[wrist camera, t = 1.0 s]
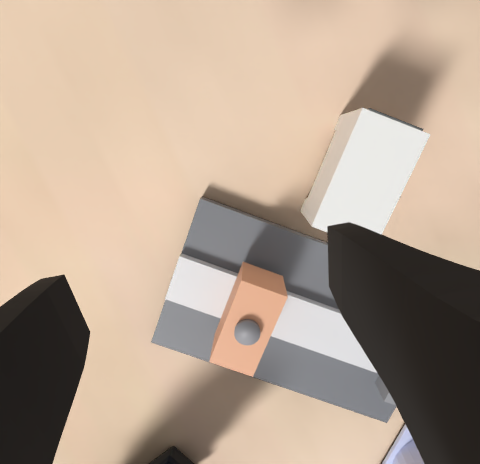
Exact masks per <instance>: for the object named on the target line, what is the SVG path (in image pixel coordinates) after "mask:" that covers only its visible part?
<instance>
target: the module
mask: <svg viewBox="0 0 480 464" xmlns="http://www.w3.org/2000/svg"><path fill="white" fill-rule="evenodd" d="M334 130H336V131H335V134H334V136H333V139H332V141H331V143H330V146H329V148H328V150H327V153H326V155H325V158H324V160H323V162H322V165H321V167H320V170H319V172H318V174H317V177H316V179H315V181H314V184H313V186H312V189H311V191H310V193H309V196H308V198H305V200H304V203H303V205H302V207H301V210H300V211H301V213H302V214H303V215H304V217H305V218H306V220H307V221H308V222H309V224H310V225H311V227H314V228H317V229H320V230H322V231H325V232H328V231H327V226H331V225H336V224H342V223H347V222H350V223H353V224H356V225H359V226H362V227H364V228H367V229H369V230H372V231H374V232H377V233H379V234H381V235H382V233H383V231H384V229H385V226H386V224H387V222H388V220H389V218H390V216H391V214H392V212H393V210H394V208H395V206H396V204H397V202H398V200H399V198H400V196H401V194H402V192H403V190H404V187H405V185H406V183H407V181H408V179H409V177H410V175H411V173H412V171H413V169H414V167H415V165H416V163H417V161H418V159H419V157H420V155H421V153H422V151H423V149H424V146H425V144H426V142H427V140H428V138H429V136H430V134H428V133H426V132H423V129H422V128H419V127H417V126H414V125H411V124H409V123H406V122H404V121H401V120H399V119H396V118H394V117H391V116H389V115H386V114H383V113H381V112H378V111H376V110H373V109H371V108H368V109H365V108H360V109H357V110H354V111H351V112H348V113H345V114H342V115H340V117H339V119H338V121H337V124H336V126H335V129H334Z"/></svg>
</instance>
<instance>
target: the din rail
mask: <svg viewBox="0 0 480 464" xmlns="http://www.w3.org/2000/svg"><path fill="white" fill-rule="evenodd" d="M243 262H246V263H248V264H251V265H254V266H257V267H259V268H262V269H265V270H268V271H271V272H273V273H276V274H279V275H282V276H283V279H284V283H285V287H286V291H287V296H288V298H287V300H286V302H285V305H284V307H283V309H282V311H281V314H280V316H279V318H278V321H277V323H276V325H275V327H274V330H273V332H272V334H271V337H270V339H269V341H268V343H267V346H266V348H265V350H264V353H263V355H262V357H261V359H260V362H259V364H258V366H257V369H256V371H255V373H254V375H253V377H254V378H257V379H260V380H263V381H266V382H269V383H272V384H275V385H278V386H280V387H283V388H286V389H289V390H292V391H295V392H298V393H301V394H304V395H307V396H310V397H313V398H316V399H319V400H321V401H324V402H327V403H330V404H333V405H336V406H339V407H342V408H345V409H348V410H351V411H354V412H357V413H360V414H362V415H365V416H368V417H371V418H374V419H377V420H380V421H383V422H386V423H387V422H388V420H389V418H390V417H391V415H392V413H393V411H394V410H395V408H396V404H395V402H394V400H393V398H392V397H391V395H390V393H389V391H388V390H387V388H386V386H385V384H384V383H383V381H382V379H381V378H380V376H379V375H378V373H377V371H376V370H375V368H374V367H373V365H372V363H371V362H370V360H369V359H368V357H367V355H366V354H365V352H364V351H363V349H362V348H361V346H360V344H359V343H358V341H357V340H356V338H355V336H354V335H353V333H352V331H351V330H350V328H349V327H348V325H347V323H346V322H345V320H344V318H343V317H342V315H341V313H340V310H339V308H338V306H337V304H336V302H335V299H334V297H333V295H332V292H331V290H330V288H329V275H328V243H327V242H324V241H322V240H319V239H316V238H314V237H311V236H308V235H305V234H303V233H300V232H297V231H295V230H292V229H289V228H286V227H284V226H281V225H278V224H276V223H273V222H270V221H267V220H265V219H262V218H259V217H257V216H254V215H251V214H248V213H246V212H243V211H240V210H238V209H235V208H232V207H229V206H227V205H224V204H221V203H218V202H216V201H213V200H210V199H208V198H205V197H201V198H200V200H199V203H198V206H197V209H196V212H195V215H194V218H193V221H192V224H191V227H190V230H189V233H188V236H187V239H186V241H185V244H184V247H183V250H182V253H181V255H180V256H179V259H178V262H177V265H176V268H175V271H174V274H173V277H172V280H171V283H170V286H169V289H168V292H167V295H166V298H165V299H166V300H165V303H164V306H163V309H162V312H161V315H160V318H159V321H158V324H157V327H156V330H155V332H154V335H153V338H152V341H151V342H152V343H155V344H158V345H160V346H163V347H166V348H169V349H172V350H175V351H178V352H181V353H184V354H187V355H190V356H193V357H196V358H199V359H201V360H204V361H207V362H209V361H210V356H211V351H212V345H213V340H214V335H215V332H216V329H217V327H218V324H219V322H220V319H221V316H222V314H223V311H224V309H225V306H226V304H227V301H228V299H229V296H230V293H231V291H232V288H233V286H234V283H235V281H236V278H237V275H238V273H239V270H240V268H241V265H242V263H243ZM210 363H211V362H210ZM213 364H214V363H213ZM216 365H217V364H216ZM219 366H220V365H219ZM239 373H240V372H239ZM242 374H243V373H242ZM245 375H246V374H245ZM248 376H249V375H248ZM251 377H252V376H251Z"/></svg>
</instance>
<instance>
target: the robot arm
mask: <svg viewBox="0 0 480 464" xmlns="http://www.w3.org/2000/svg"><path fill="white" fill-rule="evenodd" d="M327 231H328V275H329V288H330V290H331V292H332V295H333V297H334V299H335V302H336V304H337V306H338V308H339V310H340V313H341V315H342V317H343V318H344V320H345V322H346V323H347V325H348V327H349V328H350V330H351V331H352V333H353V335H354V336H355V338H356V340H357V341H358V343H359V344H360V346H361V348H362V349H363V351H364V352H365V354H366V355H367V357H368V359H369V360H370V362H371V363H372V365H373V367H374V368H375V370H376V371H377V373H378V375H379V376H380V378H381V379H382V381H383V383H384V384H385V386H386V388H387V390H388V391H389V393H390V395H391V397H392V398H393V400H394V402H395V404H396V406H397V408H398V410H399V412H400V414H401V416H402V418H403V420H404V422H405V425H404V427H403V429H402V430H401V432H400V434H399V435H398V437H397V439H396V441H395V442H394V444H393V446H392V447H391V449H390V451H389V452H388V454H387V456H386V457H385V459H384V461H383V463H382V464H480V271H479V270H476V269H472V268H469V267H466V266H463V265H460V264H457V263H454V262H451V261H448V260H445V259H442V258H440V257H437V256H434V255H431V254H429V253H426V252H423V251H421V250H418V249H415V248H413V247H410V246H408V245H405V244H403V243H401V242H398V241H396V240H393V239H391V238H388V237H386V236H384V235H381V234H379V233H377V232H374V231H372V230H369V229H367V228H364V227H362V226H359V225H356V224H353V223H350V222H347V223H342V224H336V225H331V226H327ZM89 337H90V331H89V328H88V326H87V324H86V322H85V320H84V317H83V315H82V313H81V311H80V308H79V306H78V304H77V302H76V300H75V297H74V295H73V293H72V291H71V288H70V286H69V284H68V282H67V280H66V277H65V275H60V276H54V277H49V278H43V279H40V280H38V281H37V282H35V283H33V284H32V285H30V286H29V287H27V288H26V289H24V290H23V291H21V292H20V293H18V294H17V295H16V296H14V297H13V298H12V299H10V300H9V301H7V302H6V303H5V304H3V305H2V306H1V307H0V464H52V463H53V460H54V457H55V453H56V450H57V447H58V444H59V441H60V438H61V435H62V432H63V429H64V426H65V423H66V420H67V417H68V414H69V412H70V409H71V406H72V403H73V400H74V397H75V394H76V391H77V387H78V384H79V381H80V378H81V375H82V372H83V369H84V365H85V360H86V355H87V349H88V343H89Z"/></svg>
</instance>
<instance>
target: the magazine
mask: <svg viewBox="0 0 480 464" xmlns="http://www.w3.org/2000/svg"><path fill="white" fill-rule="evenodd" d="M149 464H193V463H192V462H191V461H190V460H189V459H188V458H187V457H186V456H185V455H183V454H182V453H181V452H180V451H179V450H178V449H177V448H176V447H171V448H170V449H168V450H167V451H166V452H164V453H163V454H162V455H160V456H159V457H157V458H156V459H155V460H153V461H152V462H151V463H149Z"/></svg>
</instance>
